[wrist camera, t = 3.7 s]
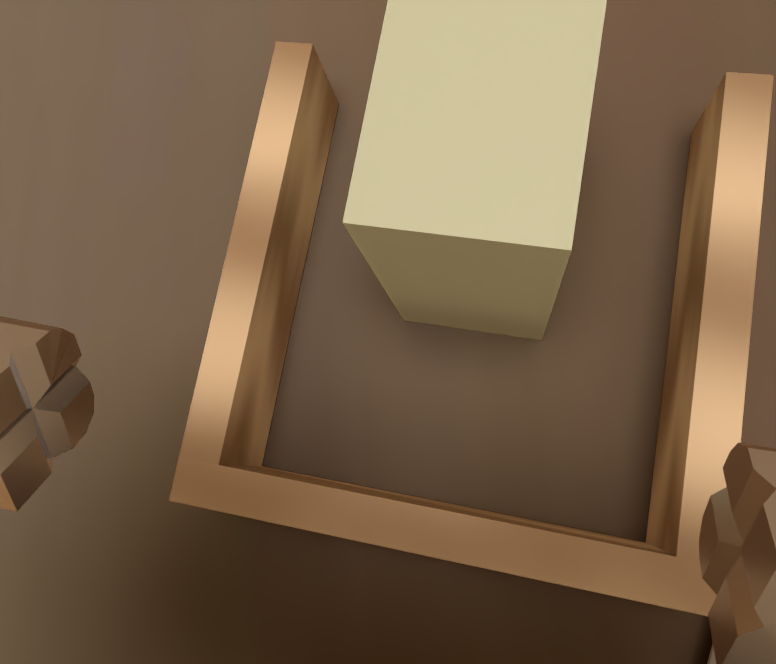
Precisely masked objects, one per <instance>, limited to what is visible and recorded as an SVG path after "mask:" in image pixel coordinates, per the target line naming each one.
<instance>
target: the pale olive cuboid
mask: <svg viewBox="0 0 776 664" xmlns="http://www.w3.org/2000/svg"><path fill="white" fill-rule="evenodd" d="M606 2H607V0H388V3H387V8H386V13H385V17H384V22H383V27H382V32H381V37H380V42H379V47H378V52H377V57H376V62H375V66H374V71H373V76H372V81H371V86H370V91H369V96H368V101H367V106H366V110H365V115H364V120H363V125H362V130H361V135H360V140H359V145H358V150H357V155H356V159H355V164H354V169H353V174H352V179H351V184H350V189H349V194H348V199H347V203H346V208H345V213H344V218H343V224H344V226H345V227H346V229H347V231H348V232H349V234H350V235H351V237H352V239H353V240H354V242H355V243H356V245H357V247H358V248H359V250H360V251H361V253H362V255H363V256H364V258H365V259H366V261H367V262H368V264H369V266H370V267H371V269H372V270H373V272H374V274H375V275H376V277H377V278H378V280H379V282H380V283H381V285H382V286H383V288H384V290H385V291H386V293H387V294H388V296H389V298H390V299H391V301H392V302H393V304H394V306H395V307H396V309H397V310H398V312H399V314H400V315H401V317H402V318H403V320H405V321H412V322H418V323H425V324H432V325H439V326H446V327H452V328H459V329H466V330H473V331H480V332H486V333H493V334H500V335H507V336H514V337H520V338H527V339H534V340H541V341H542V339H543V336H544V333H545V330H546V326H547V323H548V320H549V317H550V314H551V311H552V308H553V305H554V302H555V299H556V296H557V293H558V290H559V287H560V284H561V281H562V278H563V275H564V272H565V269H566V266H567V263H568V260H569V256H570V253H571V250H572V243H573V236H574V229H575V222H576V215H577V208H578V201H579V194H580V186H581V179H582V172H583V165H584V158H585V151H586V144H587V137H588V130H589V122H590V115H591V108H592V101H593V94H594V87H595V80H596V73H597V66H598V58H599V51H600V44H601V37H602V30H603V23H604V16H605V9H606Z"/></svg>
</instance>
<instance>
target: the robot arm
mask: <svg viewBox="0 0 776 664" xmlns="http://www.w3.org/2000/svg"><path fill="white" fill-rule="evenodd" d="M80 357H81V352H80V349H79V346H78V344H77V341H76V338H75V335H74V334H72V333H70V332H68V331H66V330H64V329H62V328H58V327H53V326H48V325H43V324H37V323H32V322H27V321H22V320H17V319H12V318H7V317H2V316H0V508H2V509H7V510H12V511H18V510H19V509H20V508H21V507H22V505H23V504H24V503H25V502H26V501H27V500H28V499H29V498H30V496H31V495H32V494H33V493H34V492H35V491H36V490H37V489H38V487H39V486H40V485H41V484H42V483H43V482H44V481H45V480H46V478H47V477H48V476H49V475H50V474H51V468H52V458H54V457H56V456H58V455H60V454H62V453H65V452H67V451H69V450H71V449H73V448H74V447H75V445H76V444H77V443H78V442H79V441H80V439H81V438H82V437H83V436H84V435H85V433H86V432H87V429H88V427H89V424H90V421H91V419H92V416H93V413H94V394H93V391H92V387H91V384H90V381H89V380H88V379H87V378H86V377H85V376H84V375H83V374H82V373H81V372H80V370H79V369H78V368H77V367H76V365H77V363H78V361H79V359H80ZM723 472H724V477H725V481H726V486H727V487H726V488H724V489H722V490H720V491H718V492H716V493H714V494H713V495H711V496H710V498H709V501H708V504H707V506H706V509H705V511H704V514H703V517H702V523H701V529H700V536H699V560H700V567H701V574H702V578H703V580H704V581H705V582H706V583H707V584H708V585H709V587H710V588H711V589H712V590H713V591H714V592H715V594H716V595H717V596H716V598H715V600H714V602H713V605H712V607H711V609H710V611H709V613H708V618H709V624H710V630H711V636H712V642H713V647H714V653H715V659H716V664H776V449H775V448H769V447H763V446H756V445H750V444H744V443H737V444H736V445H735V447H734V448H733V449H732V450H731V451H730V453H729V455H728V457H727V459H726V461H725V464H724V466H723Z"/></svg>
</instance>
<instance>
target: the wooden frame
mask: <svg viewBox="0 0 776 664" xmlns="http://www.w3.org/2000/svg"><path fill="white" fill-rule="evenodd" d="M773 76H774V75H763V74H749V73H734V72H726V74H725V75H724V77H723V79H722V81H721V82H720V84H719V86H718V88H717V90H716V91H715V93H714V95H713V97H712V98H711V100H710V102H709V104H708V105H707V107H706V109H705V111H704V112H703V114H702V116H701V118H700V119H699V121H698V123H697V125H696V126H695V128H694V130H693V132H692V133H691V140H690V149H689V158H688V167H687V176H686V185H685V194H684V203H683V212H682V221H681V230H680V239H679V248H678V257H677V266H676V275H675V284H674V293H673V302H672V311H671V320H670V328H669V337H668V346H667V355H666V364H665V373H664V382H663V391H662V400H661V409H660V418H659V427H658V436H657V445H656V454H655V463H654V472H653V481H652V490H651V499H650V508H649V517H648V526H647V535H646V542H642V541H637V540H632V539H627V538H622V537H617V536H612V535H607V534H602V533H597V532H592V531H587V530H581V529H576V528H571V527H566V526H561V525H556V524H551V523H546V522H541V521H536V520H531V519H526V518H521V517H516V516H511V515H506V514H501V513H496V512H491V511H486V510H481V509H475V508H470V507H465V506H460V505H455V504H450V503H445V502H440V501H435V500H430V499H425V498H420V497H415V496H410V495H405V494H400V493H395V492H390V491H385V490H380V489H375V488H369V487H364V486H359V485H354V484H349V483H344V482H339V481H334V480H329V479H324V478H319V477H314V476H309V475H304V474H299V473H294V472H289V471H284V470H279V469H274V468H269V467H263V466H262V463H263V458H264V454H265V449H266V444H267V439H268V435H269V430H270V425H271V421H272V416H273V411H274V407H275V402H276V397H277V392H278V388H279V383H280V378H281V374H282V369H283V364H284V359H285V355H286V350H287V345H288V341H289V336H290V331H291V326H292V322H293V317H294V312H295V308H296V303H297V298H298V294H299V289H300V284H301V279H302V275H303V270H304V265H305V261H306V256H307V251H308V246H309V242H310V237H311V232H312V228H313V223H314V218H315V213H316V209H317V204H318V199H319V195H320V190H321V185H322V181H323V176H324V171H325V166H326V162H327V157H328V152H329V148H330V143H331V138H332V133H333V129H334V124H335V119H336V115H337V110H338V105H339V103H338V101H337V99H336V96H335V94H334V92H333V90H332V87H331V85H330V83H329V80H328V78H327V76H326V73H325V71H324V69H323V67H322V64H321V62H320V60H319V57H318V55H317V53H316V51H315V48H314V46H313V44H307V43H292V42H277V41H276V45H275V49H274V53H273V57H272V62H271V66H270V70H269V74H268V79H267V83H266V87H265V92H264V96H263V100H262V104H261V109H260V113H259V117H258V121H257V126H256V130H255V134H254V138H253V143H252V147H251V151H250V156H249V160H248V164H247V168H246V173H245V177H244V181H243V185H242V190H241V194H240V198H239V203H238V207H237V211H236V215H235V220H234V224H233V228H232V232H231V237H230V241H229V245H228V249H227V254H226V258H225V262H224V267H223V271H222V275H221V279H220V284H219V288H218V292H217V296H216V301H215V305H214V309H213V313H212V318H211V322H210V326H209V331H208V335H207V339H206V343H205V348H204V352H203V356H202V360H201V365H200V369H199V373H198V378H197V382H196V386H195V390H194V395H193V399H192V403H191V407H190V412H189V416H188V420H187V424H186V429H185V433H184V437H183V442H182V446H181V450H180V454H179V459H178V463H177V467H176V471H175V476H174V480H173V484H172V489H171V493H170V497H169V501H173V502H178V503H182V504H187V505H192V506H196V507H201V508H205V509H210V510H215V511H219V512H224V513H229V514H233V515H238V516H243V517H247V518H252V519H257V520H261V521H266V522H271V523H275V524H280V525H285V526H289V527H294V528H299V529H303V530H308V531H313V532H317V533H322V534H327V535H331V536H336V537H341V538H345V539H350V540H355V541H359V542H364V543H368V544H373V545H378V546H382V547H387V548H392V549H396V550H401V551H406V552H410V553H415V554H420V555H424V556H429V557H434V558H438V559H443V560H448V561H452V562H457V563H462V564H466V565H471V566H476V567H480V568H485V569H490V570H494V571H499V572H504V573H508V574H513V575H518V576H522V577H527V578H531V579H536V580H541V581H545V582H550V583H555V584H559V585H564V586H569V587H573V588H578V589H583V590H587V591H592V592H597V593H601V594H606V595H611V596H615V597H620V598H625V599H629V600H634V601H639V602H643V603H648V604H653V605H657V606H662V607H667V608H671V609H676V610H681V611H685V612H690V613H694V614H699V615H704V616H708V613H709V611H710V609H711V607H712V605H713V602H714V600H715V598H716V596H717V595H716V594H715V592H714V591H713V590H712V589H711V588H710V587H709V585H708V584H707V583H706V582H705V581H704V580H703V578H702V574H701V567H700V560H699V536H700V529H701V523H702V517H703V514H704V511H705V509H706V506H707V504H708V501H709V498H710V496H711V495H713V494H714V493H716V492H718V491H720V490H722V489H724V488H726V487H727V486H726V481H725V477H724V472H723V466H724V464H725V461H726V459H727V457H728V455H729V453H730V451H731V450H732V449H733V448H734V447H735V445H736V444H737V443H741V432H742V421H743V409H744V398H745V387H746V376H747V365H748V354H749V343H750V332H751V321H752V309H753V298H754V287H755V276H756V265H757V254H758V243H759V232H760V221H761V209H762V198H763V187H764V176H765V165H766V154H767V143H768V132H769V120H770V109H771V98H772V87H773Z"/></svg>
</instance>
